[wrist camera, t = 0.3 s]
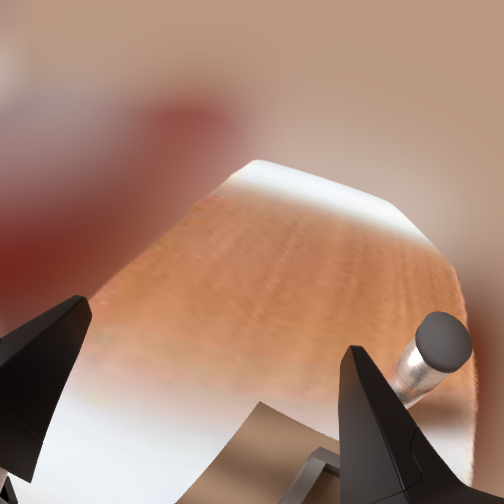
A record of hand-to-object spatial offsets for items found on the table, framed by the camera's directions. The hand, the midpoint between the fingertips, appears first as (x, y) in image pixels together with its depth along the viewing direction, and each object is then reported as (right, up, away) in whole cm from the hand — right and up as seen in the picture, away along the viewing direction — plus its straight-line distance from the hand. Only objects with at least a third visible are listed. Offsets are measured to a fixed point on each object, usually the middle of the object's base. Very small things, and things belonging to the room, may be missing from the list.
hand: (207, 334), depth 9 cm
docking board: (+7, -18, +6) cm, 20 cm away
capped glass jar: (+13, -12, +13) cm, 22 cm away
